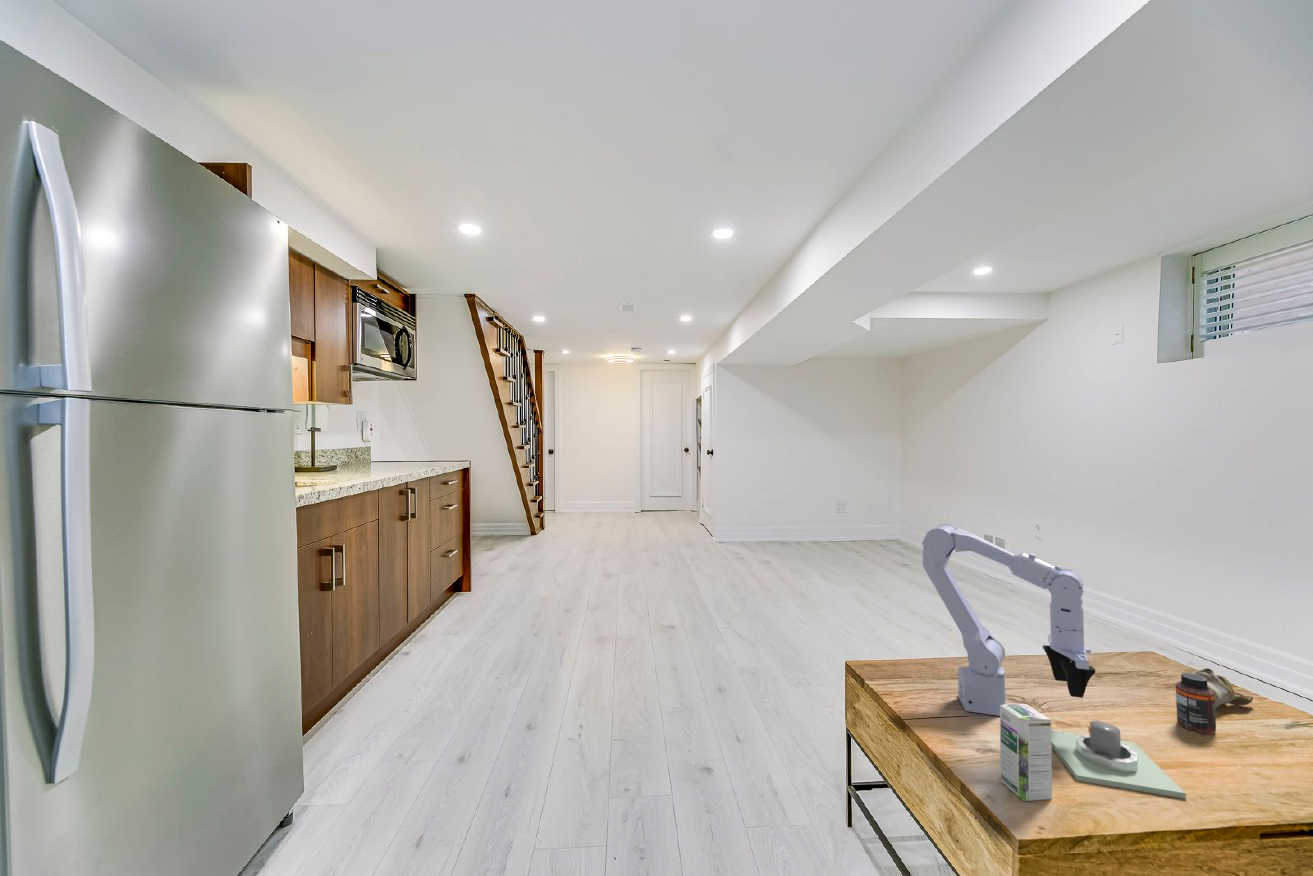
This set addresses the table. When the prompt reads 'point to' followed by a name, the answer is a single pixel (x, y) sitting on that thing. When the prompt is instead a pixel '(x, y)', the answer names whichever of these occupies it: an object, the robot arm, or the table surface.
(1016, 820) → the table surface
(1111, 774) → the plate
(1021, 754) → the syrup box
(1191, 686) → the supplement bottle
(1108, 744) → the grey rounded block
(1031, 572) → the robot arm
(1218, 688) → the ceramic sculpture
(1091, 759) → the duct collar
